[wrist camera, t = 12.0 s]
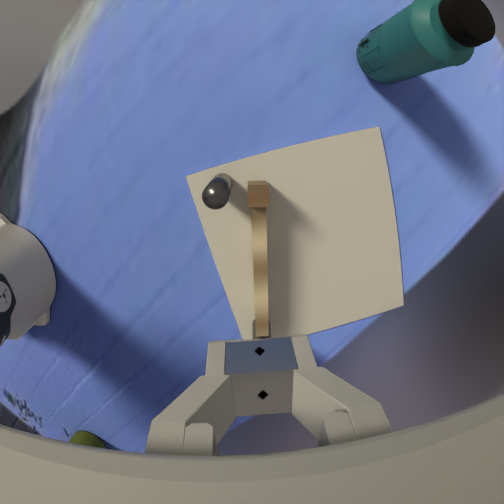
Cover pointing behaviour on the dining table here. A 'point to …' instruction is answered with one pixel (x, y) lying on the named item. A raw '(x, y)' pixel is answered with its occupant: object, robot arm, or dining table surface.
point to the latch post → (217, 191)
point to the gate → (259, 252)
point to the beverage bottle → (425, 39)
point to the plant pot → (86, 439)
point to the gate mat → (309, 234)
